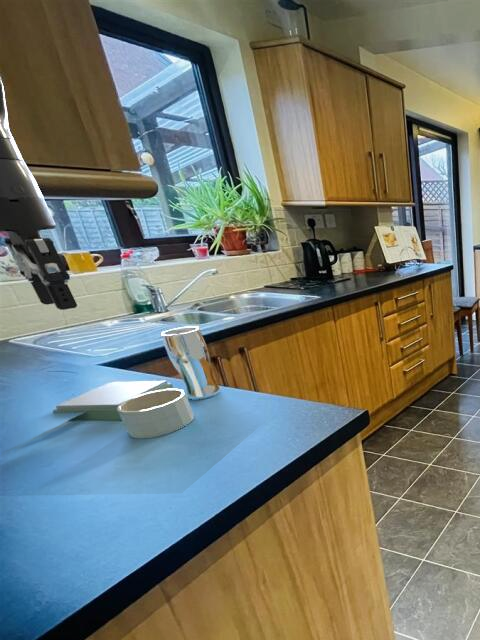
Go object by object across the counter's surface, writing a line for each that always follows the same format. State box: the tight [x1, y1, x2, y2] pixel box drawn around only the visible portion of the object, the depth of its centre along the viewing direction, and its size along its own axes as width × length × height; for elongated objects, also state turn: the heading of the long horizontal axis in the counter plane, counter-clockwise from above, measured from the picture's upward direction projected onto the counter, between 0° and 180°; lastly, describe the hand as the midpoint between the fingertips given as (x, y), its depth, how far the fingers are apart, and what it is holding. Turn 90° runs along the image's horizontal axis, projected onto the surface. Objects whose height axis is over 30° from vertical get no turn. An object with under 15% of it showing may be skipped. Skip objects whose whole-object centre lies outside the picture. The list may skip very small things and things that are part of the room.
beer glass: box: [160, 326, 221, 401], centre depth 88 cm, size 7×7×15 cm
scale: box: [52, 380, 175, 422], centre depth 86 cm, size 14×13×3 cm
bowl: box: [117, 388, 195, 439], centre depth 77 cm, size 10×10×6 cm
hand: (59, 306), depth 65 cm, fingers open, 8 cm apart
